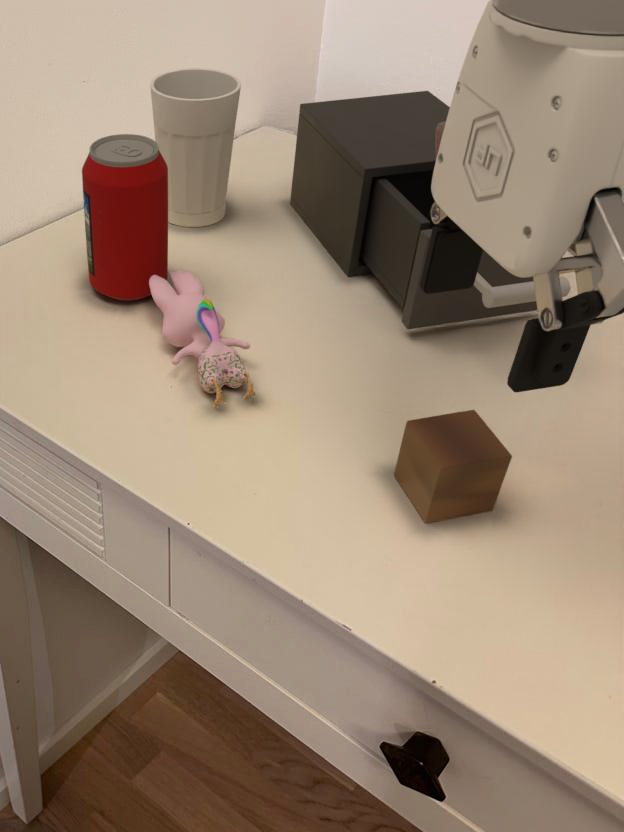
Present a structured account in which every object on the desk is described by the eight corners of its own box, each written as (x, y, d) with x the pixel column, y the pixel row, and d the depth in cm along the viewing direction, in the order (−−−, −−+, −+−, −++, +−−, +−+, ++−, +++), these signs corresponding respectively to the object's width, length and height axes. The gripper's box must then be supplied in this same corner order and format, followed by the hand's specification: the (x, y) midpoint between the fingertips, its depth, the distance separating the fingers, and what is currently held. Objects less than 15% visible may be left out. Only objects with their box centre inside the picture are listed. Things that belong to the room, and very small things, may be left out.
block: (457, 463, 59) (474, 408, 56) (493, 511, 55) (512, 455, 52) (393, 474, 58) (406, 420, 55) (425, 523, 55) (441, 468, 52)
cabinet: (481, 258, 78) (509, 152, 72) (347, 276, 77) (365, 168, 70) (408, 188, 89) (427, 90, 82) (289, 203, 87) (299, 103, 80)
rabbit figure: (271, 409, 65) (196, 283, 74) (284, 349, 61) (203, 222, 69) (192, 428, 64) (125, 297, 72) (199, 368, 59) (127, 236, 68)
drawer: (580, 348, 67) (616, 254, 61) (440, 370, 65) (465, 275, 60) (458, 232, 80) (479, 147, 75) (340, 248, 78) (353, 162, 73)
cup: (147, 196, 89) (145, 70, 80) (225, 191, 89) (232, 66, 81) (156, 233, 83) (155, 102, 75) (240, 228, 83) (249, 97, 75)
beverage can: (120, 258, 79) (115, 124, 71) (183, 280, 77) (185, 142, 68) (73, 291, 75) (62, 152, 67) (137, 315, 73) (134, 173, 64)
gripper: (415, -55, 42) (360, 266, 54) (642, 58, 30) (507, 444, 42) (556, -65, 44) (472, 251, 55) (830, 40, 31) (648, 420, 43)
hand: (487, 333), depth 48 cm, fingers open, 9 cm apart
